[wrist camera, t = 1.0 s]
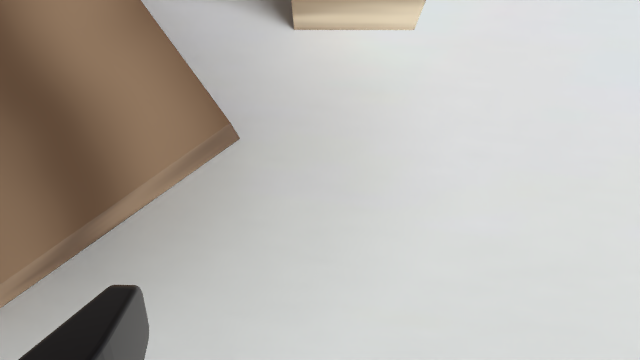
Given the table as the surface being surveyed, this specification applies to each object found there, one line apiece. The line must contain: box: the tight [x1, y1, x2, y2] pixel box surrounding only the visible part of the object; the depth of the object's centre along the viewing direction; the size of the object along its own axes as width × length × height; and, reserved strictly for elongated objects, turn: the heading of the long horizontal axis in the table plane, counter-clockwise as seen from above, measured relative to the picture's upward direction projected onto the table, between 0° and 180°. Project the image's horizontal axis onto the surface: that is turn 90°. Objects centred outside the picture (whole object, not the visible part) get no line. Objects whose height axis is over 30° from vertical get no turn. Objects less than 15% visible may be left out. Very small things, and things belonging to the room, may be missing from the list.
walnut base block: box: [0, 0, 240, 308], centre depth 22 cm, size 12×12×2 cm
